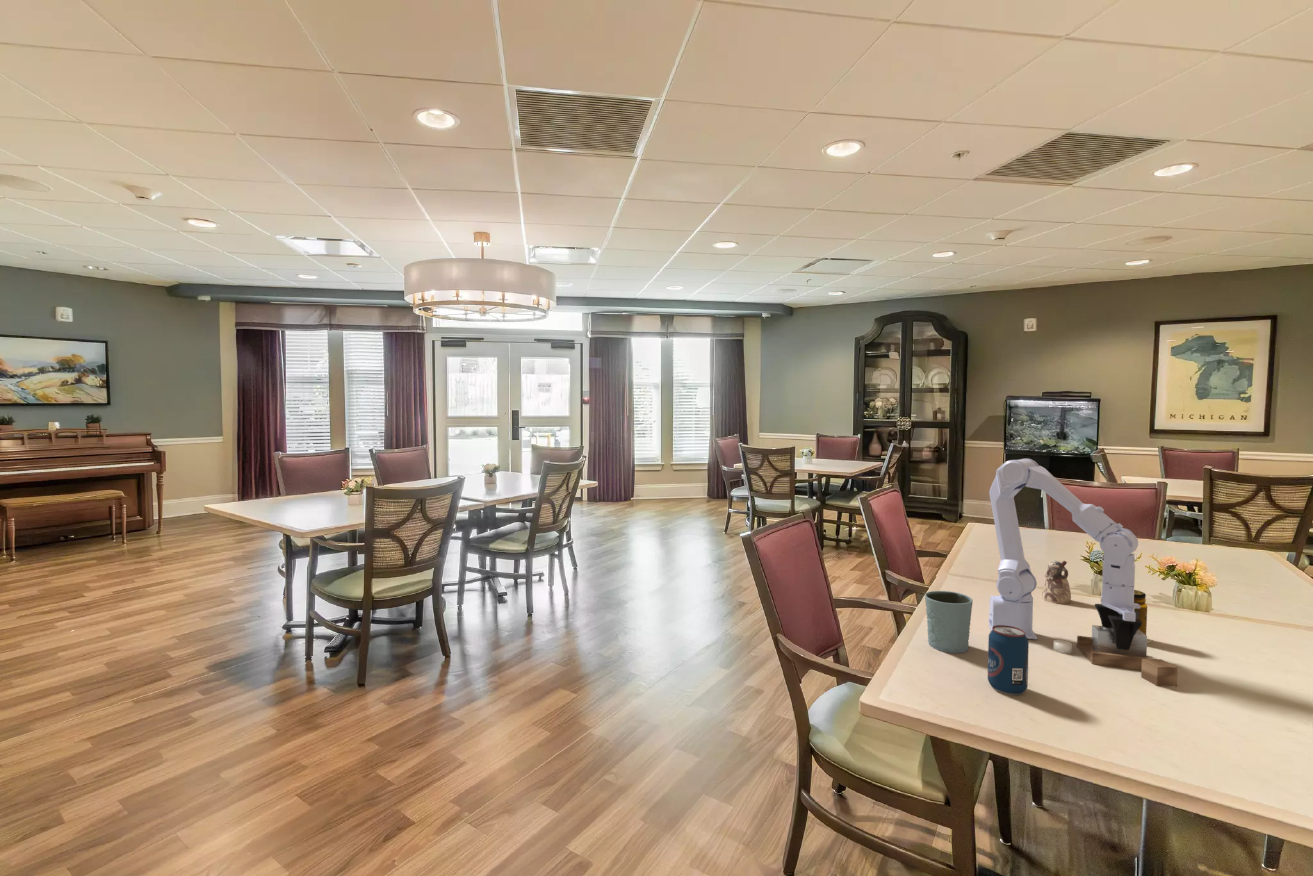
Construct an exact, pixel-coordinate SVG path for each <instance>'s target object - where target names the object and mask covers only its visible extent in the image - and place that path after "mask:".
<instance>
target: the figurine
mask: <svg viewBox="0 0 1313 876" xmlns="http://www.w3.org/2000/svg"><path fill="white" fill-rule="evenodd" d="M1067 563H1068V562H1067V561H1066V560H1062V561H1059V560H1053V561H1051V562H1050V563H1048V564H1047V571H1046V573H1044V574H1043V576H1044V577H1045V581H1044V586H1043V590H1042V594H1041V595H1042V597H1041V599H1042V600H1043V601H1044V602H1048V603H1051V604H1057V605H1067V604H1070V603H1071V599H1072V593H1071V588H1070V583H1069V581H1068V577H1069V570H1068V569H1067V568H1066V567H1065V566H1066V565H1067Z"/></svg>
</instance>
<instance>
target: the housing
mask: <svg viewBox="0 0 1313 876" xmlns="http://www.w3.org/2000/svg"><path fill="white" fill-rule="evenodd" d="M1091 637H1092V649H1093V650H1094V651H1095V652H1103V653H1111V654H1120V655H1128V656H1136V657H1145V658H1146V656H1147V653H1148V652H1147V649H1148V644H1147V639H1148V635H1147V634H1146V635H1145V634H1144V633H1143V632H1142V631H1140V630H1137V631H1136V633H1135V635H1134V637H1133V640H1132V643H1131V646H1130V648H1129V650H1124V649H1118V648H1117V647H1116V644H1115V637H1114V630H1113V627H1109V626H1102V625H1097V624H1092V625H1091Z"/></svg>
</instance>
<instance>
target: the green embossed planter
mask: <svg viewBox="0 0 1313 876" xmlns="http://www.w3.org/2000/svg"><path fill="white" fill-rule="evenodd" d="M924 598H925V599H924V602H925V607H926V609H925V612H926V618H927V619H926V621H927V639H928V640H927V641H928V645H929V647H930V648H932V647H933V648H932V649H935V650H938V651H939V652H940V651H941V652H943V653H944V652H945V653H948V654H949V653H950V654H962V653H966V652H967V651H968V649H969V640H970V633H971V632H970V629H971V628H970V627H971V620H972V619H971V616H972V610H973V602H974V601H973V600H974V599H972V598H971V596H969V595H967V594H963V593H960V592H955V591H951V590H950V591H949V590H948V591H947V590H931V591H927V592H926V593H924Z"/></svg>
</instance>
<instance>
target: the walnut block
mask: <svg viewBox="0 0 1313 876" xmlns="http://www.w3.org/2000/svg"><path fill="white" fill-rule="evenodd" d="M1140 673H1141V675H1140V676H1141V679H1144V680H1146V682H1149V683H1151V684H1152V685H1154V686H1156V687H1178V666H1176V665H1174V664H1172V663H1170V662H1168V661H1166V660H1164V659H1161V658H1159V659H1158V658H1153V659H1142V670H1140Z"/></svg>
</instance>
